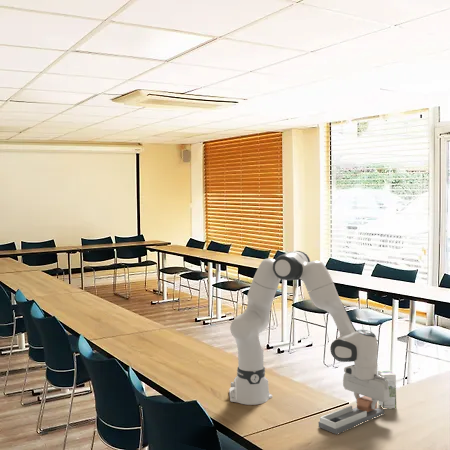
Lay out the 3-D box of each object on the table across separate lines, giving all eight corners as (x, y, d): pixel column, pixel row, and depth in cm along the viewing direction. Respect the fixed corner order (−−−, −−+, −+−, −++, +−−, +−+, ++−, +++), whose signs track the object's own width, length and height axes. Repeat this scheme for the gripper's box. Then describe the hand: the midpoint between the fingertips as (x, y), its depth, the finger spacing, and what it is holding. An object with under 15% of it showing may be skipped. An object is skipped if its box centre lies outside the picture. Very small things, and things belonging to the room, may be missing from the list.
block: (367, 412, 222) (367, 402, 222) (356, 408, 226) (357, 398, 226) (376, 408, 226) (376, 398, 226) (366, 404, 230) (366, 395, 230)
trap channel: (336, 434, 208) (336, 424, 208) (318, 426, 216) (318, 416, 215) (384, 415, 226) (384, 405, 225) (365, 408, 233) (365, 399, 232)
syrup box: (392, 404, 237) (391, 369, 236) (397, 409, 231) (395, 373, 230) (378, 405, 237) (377, 370, 236) (383, 410, 231) (381, 374, 230)
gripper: (393, 376, 218) (392, 412, 219) (350, 364, 235) (350, 397, 235) (382, 380, 215) (382, 416, 215) (340, 367, 231) (340, 400, 232)
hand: (365, 406), depth 226 cm, fingers closed on block, 5 cm apart
